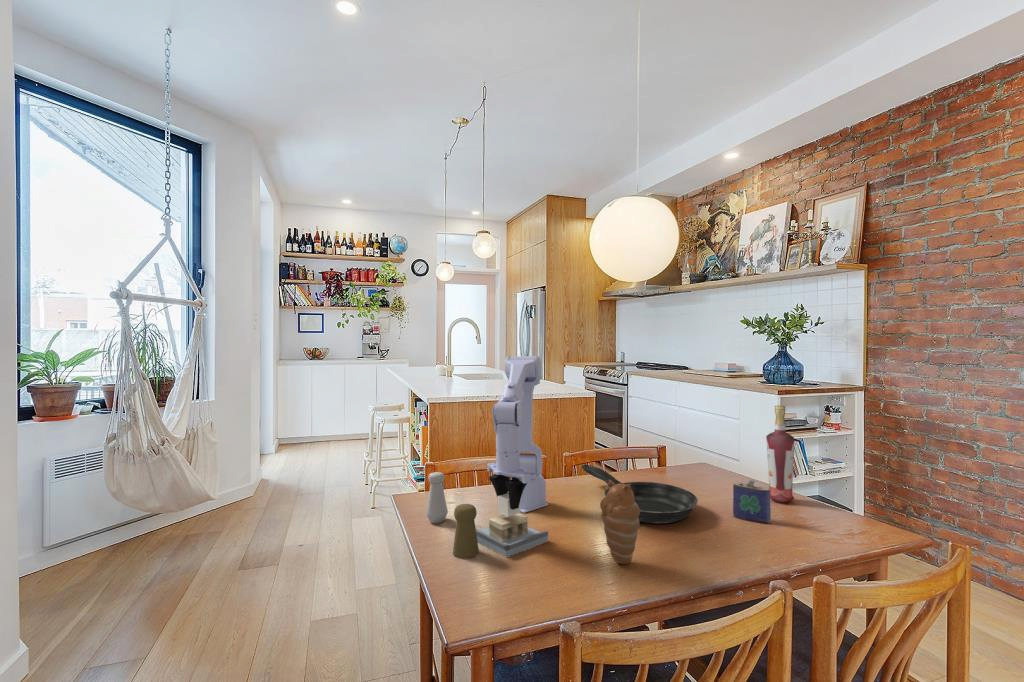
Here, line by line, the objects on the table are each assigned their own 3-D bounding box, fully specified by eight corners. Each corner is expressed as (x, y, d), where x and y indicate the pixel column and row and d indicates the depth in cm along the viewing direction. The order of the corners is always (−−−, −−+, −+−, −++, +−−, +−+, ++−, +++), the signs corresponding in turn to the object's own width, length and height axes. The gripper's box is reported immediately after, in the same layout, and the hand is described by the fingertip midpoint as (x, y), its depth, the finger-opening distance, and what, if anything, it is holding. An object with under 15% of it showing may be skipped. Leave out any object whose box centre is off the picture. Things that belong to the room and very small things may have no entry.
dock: (511, 525, 131) (511, 515, 131) (548, 541, 121) (548, 531, 121) (471, 538, 123) (470, 528, 123) (506, 557, 112) (506, 546, 112)
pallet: (514, 527, 126) (514, 511, 126) (527, 532, 122) (527, 516, 122) (489, 535, 121) (489, 519, 121) (502, 542, 117) (501, 525, 117)
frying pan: (718, 519, 134) (718, 494, 134) (646, 537, 123) (645, 510, 123) (615, 478, 173) (615, 458, 173) (553, 489, 162) (553, 468, 162)
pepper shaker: (468, 560, 111) (467, 511, 111) (447, 554, 114) (446, 507, 114) (484, 550, 116) (483, 503, 116) (463, 545, 119) (462, 499, 119)
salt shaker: (443, 525, 132) (442, 476, 132) (423, 524, 133) (422, 475, 133) (450, 517, 138) (449, 470, 137) (431, 516, 139) (430, 469, 139)
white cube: (510, 508, 125) (509, 492, 125) (520, 512, 122) (520, 496, 121) (497, 512, 122) (497, 496, 122) (507, 516, 119) (507, 500, 119)
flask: (771, 522, 131) (771, 481, 131) (769, 525, 128) (768, 484, 128) (734, 514, 137) (734, 475, 136) (731, 517, 134) (730, 478, 134)
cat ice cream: (594, 563, 109) (593, 481, 108) (613, 551, 114) (612, 473, 114) (631, 576, 103) (630, 489, 102) (649, 563, 109) (648, 481, 108)
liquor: (794, 506, 142) (794, 408, 141) (766, 502, 145) (765, 407, 145) (795, 499, 148) (794, 405, 148) (767, 495, 152) (766, 403, 151)
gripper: (477, 448, 125) (478, 502, 125) (514, 458, 113) (515, 518, 114) (499, 444, 129) (500, 496, 129) (537, 453, 118) (537, 510, 118)
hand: (508, 506), depth 122 cm, fingers closed on white cube, 4 cm apart
